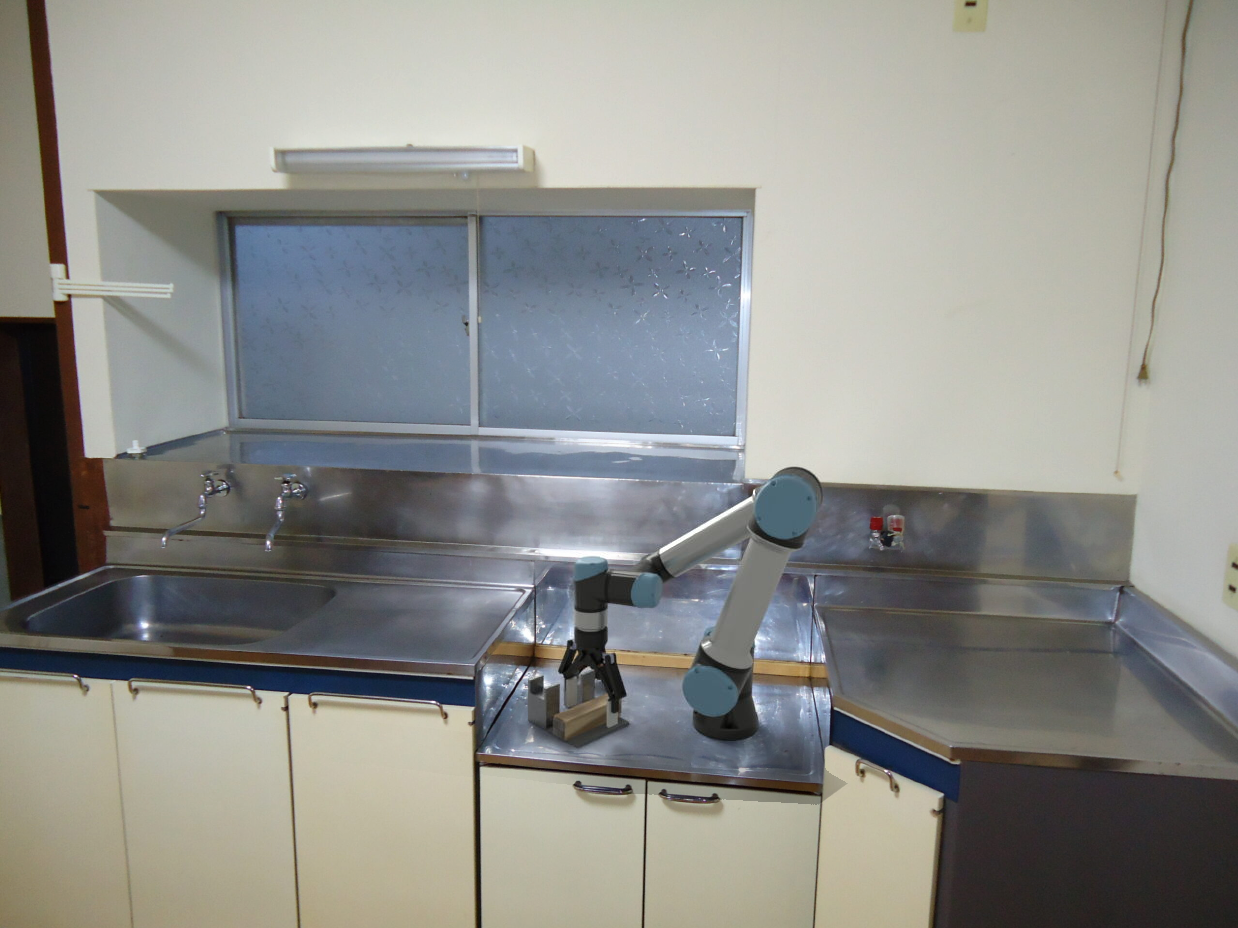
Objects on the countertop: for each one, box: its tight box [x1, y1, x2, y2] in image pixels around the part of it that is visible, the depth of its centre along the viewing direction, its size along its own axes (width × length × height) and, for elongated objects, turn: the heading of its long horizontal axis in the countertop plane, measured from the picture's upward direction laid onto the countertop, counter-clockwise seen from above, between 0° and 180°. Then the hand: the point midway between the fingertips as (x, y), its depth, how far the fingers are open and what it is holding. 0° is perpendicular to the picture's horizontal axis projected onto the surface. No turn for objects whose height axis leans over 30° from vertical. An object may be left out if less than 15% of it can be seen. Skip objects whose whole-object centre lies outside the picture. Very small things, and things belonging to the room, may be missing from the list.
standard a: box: [563, 669, 596, 709], centre depth 194 cm, size 7×4×10 cm, turn 45°
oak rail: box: [552, 693, 623, 742], centre depth 185 cm, size 4×18×4 cm, turn 135°
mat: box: [547, 716, 630, 749], centre depth 185 cm, size 10×16×1 cm, turn 135°
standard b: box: [527, 674, 561, 731], centre depth 187 cm, size 7×4×10 cm, turn 45°
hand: (591, 714), depth 185 cm, fingers open, 13 cm apart
